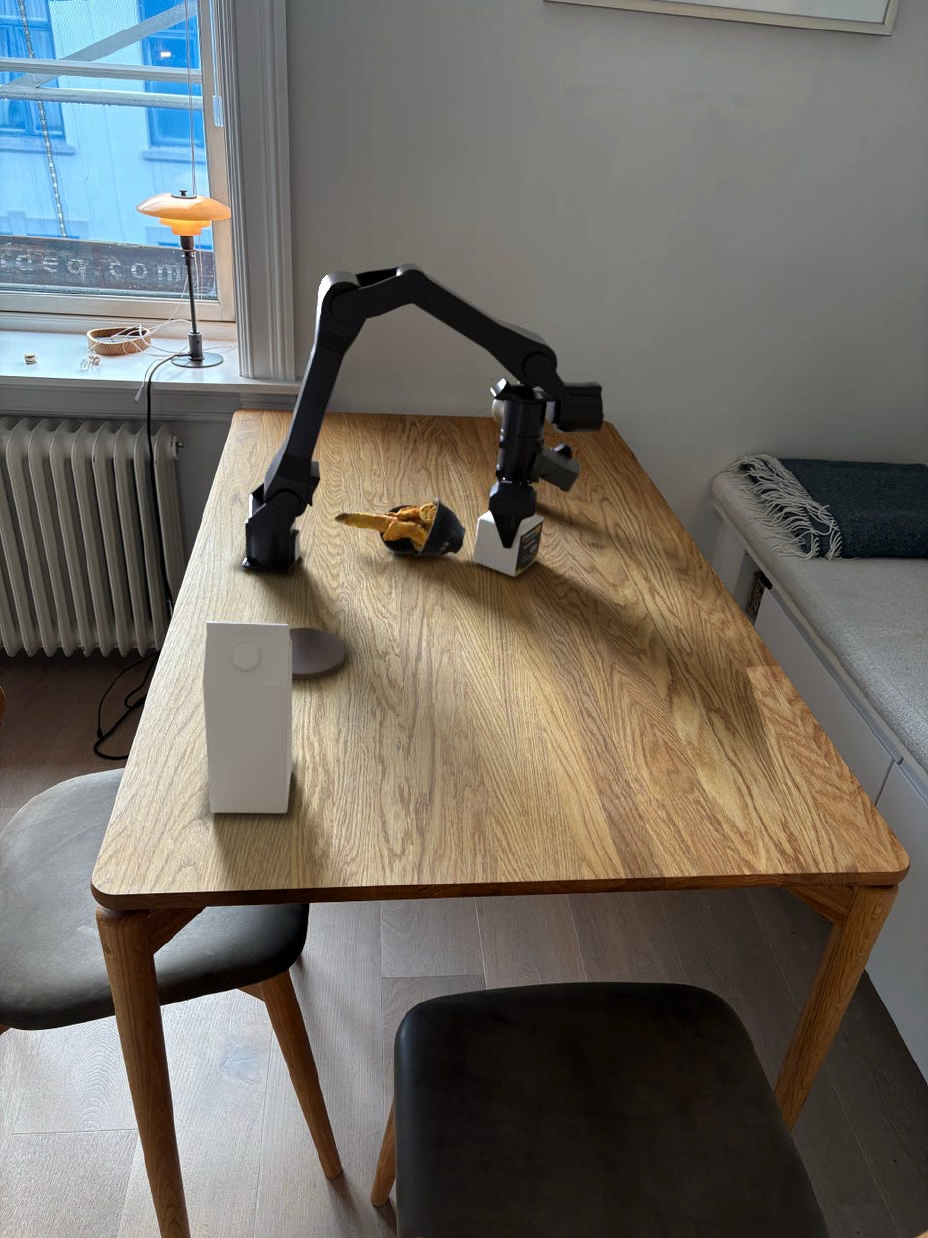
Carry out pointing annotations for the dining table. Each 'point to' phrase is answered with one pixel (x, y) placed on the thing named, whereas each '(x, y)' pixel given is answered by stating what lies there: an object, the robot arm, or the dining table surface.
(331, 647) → the coaster
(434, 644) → the dining table surface
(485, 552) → the medicine bottle
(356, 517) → the fried shrimp in bowl
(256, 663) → the milk carton
